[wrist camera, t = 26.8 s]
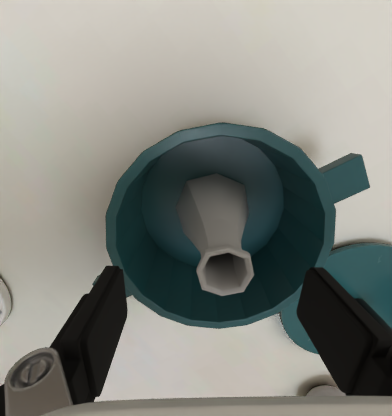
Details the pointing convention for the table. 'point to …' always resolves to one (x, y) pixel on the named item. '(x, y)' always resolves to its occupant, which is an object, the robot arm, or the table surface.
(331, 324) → the robot arm
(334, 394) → the perfume bottle
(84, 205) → the table surface
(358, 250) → the pot lid
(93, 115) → the table surface
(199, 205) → the flask
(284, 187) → the pot
